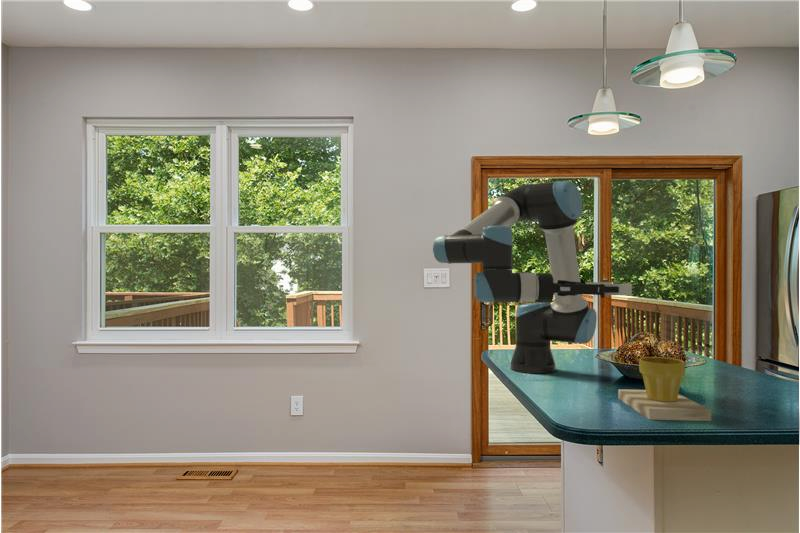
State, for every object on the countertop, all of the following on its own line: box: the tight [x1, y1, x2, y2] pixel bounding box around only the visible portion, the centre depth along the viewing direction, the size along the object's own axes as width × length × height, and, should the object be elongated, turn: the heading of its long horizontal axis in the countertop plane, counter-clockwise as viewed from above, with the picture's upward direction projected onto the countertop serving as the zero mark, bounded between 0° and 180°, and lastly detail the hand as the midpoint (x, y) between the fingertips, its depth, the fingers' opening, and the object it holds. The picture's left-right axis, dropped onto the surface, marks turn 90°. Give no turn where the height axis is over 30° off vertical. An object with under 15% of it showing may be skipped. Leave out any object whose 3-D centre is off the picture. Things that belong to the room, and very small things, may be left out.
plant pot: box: [638, 356, 686, 402], centre depth 133 cm, size 10×10×10 cm
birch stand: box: [617, 388, 712, 422], centre depth 133 cm, size 20×14×2 cm
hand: (620, 288), depth 134 cm, fingers open, 13 cm apart
